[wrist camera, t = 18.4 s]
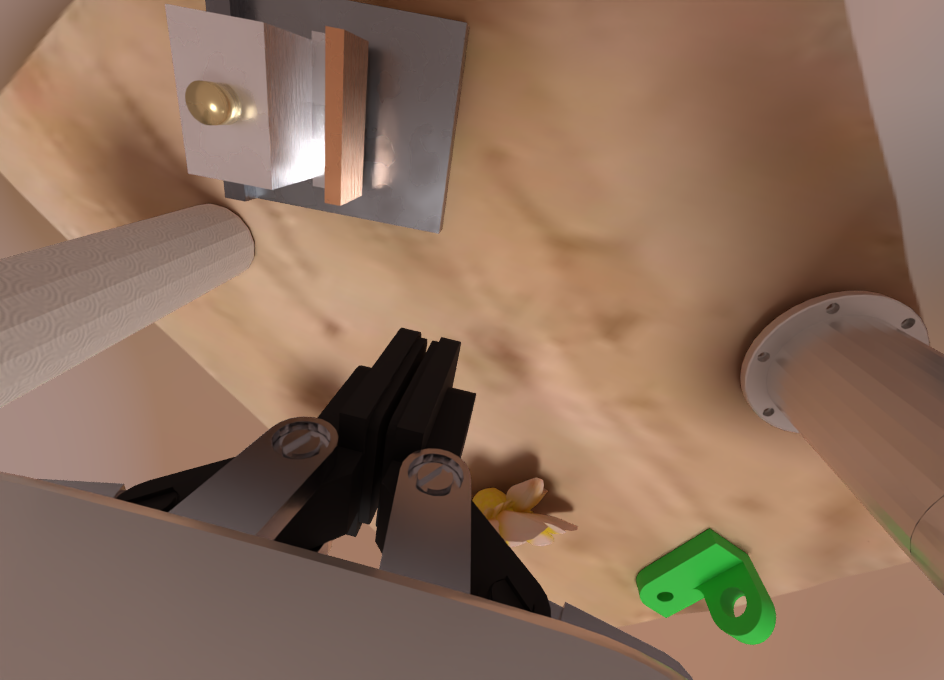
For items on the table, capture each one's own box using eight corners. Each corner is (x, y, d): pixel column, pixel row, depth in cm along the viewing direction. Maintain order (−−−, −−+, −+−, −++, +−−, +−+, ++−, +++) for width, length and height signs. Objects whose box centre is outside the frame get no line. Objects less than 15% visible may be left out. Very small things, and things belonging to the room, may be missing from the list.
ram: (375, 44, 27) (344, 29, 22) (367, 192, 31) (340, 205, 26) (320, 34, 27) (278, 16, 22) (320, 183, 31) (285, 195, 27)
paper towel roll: (230, 191, 34) (-136, 286, 15) (270, 262, 36) (-2, 420, 17) (160, 221, 36) (-247, 338, 17) (203, 287, 38) (-110, 454, 19)
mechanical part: (708, 526, 45) (743, 602, 38) (747, 553, 47) (787, 631, 39) (624, 578, 50) (641, 653, 43) (661, 600, 52) (683, 677, 45)
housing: (321, 43, 27) (246, 15, 20) (321, 175, 31) (257, 193, 24) (245, 29, 27) (140, -4, 20) (254, 162, 31) (169, 176, 24)
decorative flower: (462, 553, 51) (449, 644, 42) (412, 488, 47) (387, 574, 38) (582, 521, 47) (597, 616, 38) (539, 447, 43) (544, 533, 34)
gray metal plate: (469, 27, 27) (463, 17, 25) (442, 229, 34) (435, 238, 31) (232, -18, 28) (201, -32, 25) (248, 191, 34) (225, 197, 31)
